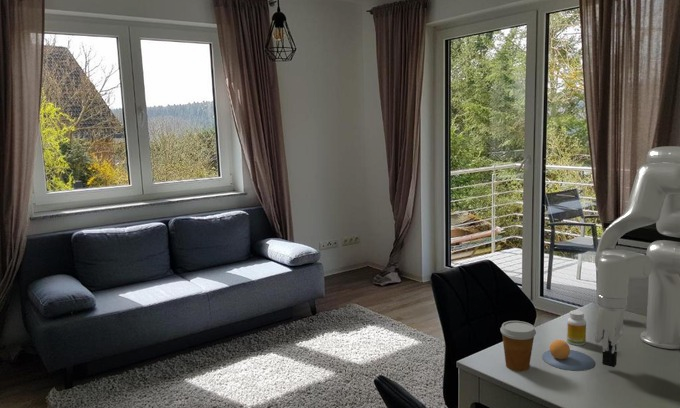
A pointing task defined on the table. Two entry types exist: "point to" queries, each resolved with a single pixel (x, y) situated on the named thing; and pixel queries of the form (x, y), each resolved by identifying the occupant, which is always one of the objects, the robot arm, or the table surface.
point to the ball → (559, 349)
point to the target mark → (570, 361)
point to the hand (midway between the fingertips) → (609, 364)
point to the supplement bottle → (576, 328)
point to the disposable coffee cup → (517, 344)
